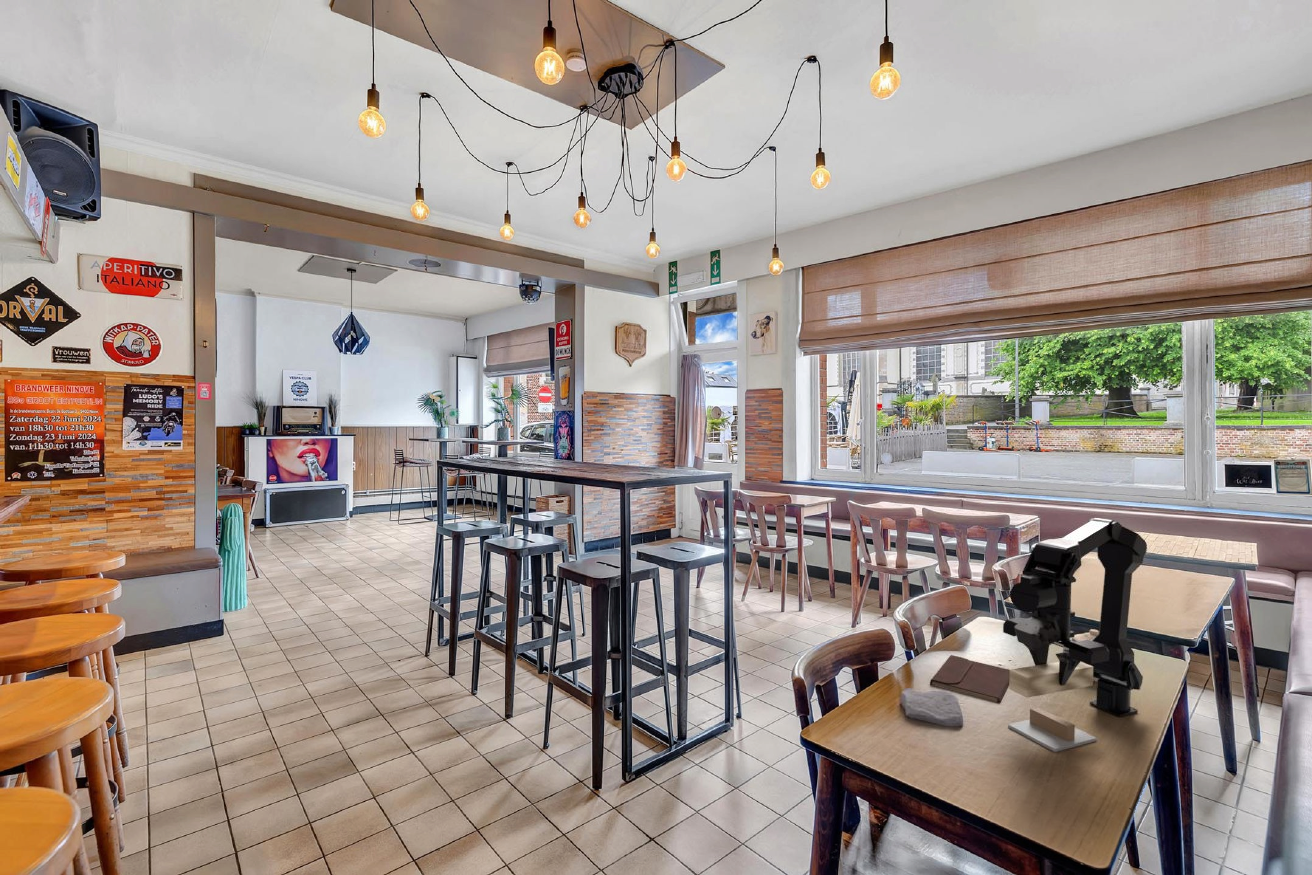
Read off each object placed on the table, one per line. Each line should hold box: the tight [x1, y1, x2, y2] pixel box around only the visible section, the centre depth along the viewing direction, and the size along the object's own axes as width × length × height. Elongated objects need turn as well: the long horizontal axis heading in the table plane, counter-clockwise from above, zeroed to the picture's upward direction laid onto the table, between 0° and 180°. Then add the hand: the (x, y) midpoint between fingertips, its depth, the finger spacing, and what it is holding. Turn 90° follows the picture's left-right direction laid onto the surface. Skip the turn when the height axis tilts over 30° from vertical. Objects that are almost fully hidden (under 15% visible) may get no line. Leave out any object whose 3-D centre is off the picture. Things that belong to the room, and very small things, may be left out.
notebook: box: [929, 654, 1011, 704], centre depth 149 cm, size 15×20×2 cm
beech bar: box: [1008, 661, 1094, 698], centre depth 123 cm, size 18×4×4 cm, turn 108°
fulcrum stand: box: [1007, 706, 1097, 753], centre depth 123 cm, size 12×10×4 cm
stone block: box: [900, 687, 964, 727], centre depth 131 cm, size 12×5×10 cm
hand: (1051, 680), depth 123 cm, fingers closed on beech bar, 4 cm apart
